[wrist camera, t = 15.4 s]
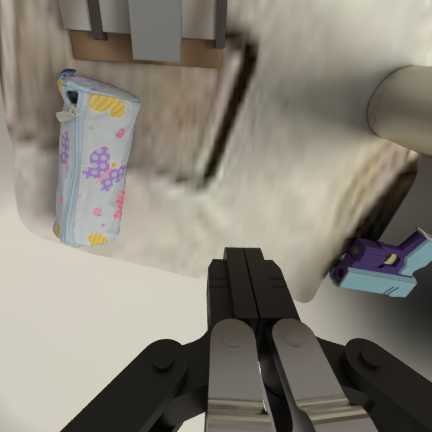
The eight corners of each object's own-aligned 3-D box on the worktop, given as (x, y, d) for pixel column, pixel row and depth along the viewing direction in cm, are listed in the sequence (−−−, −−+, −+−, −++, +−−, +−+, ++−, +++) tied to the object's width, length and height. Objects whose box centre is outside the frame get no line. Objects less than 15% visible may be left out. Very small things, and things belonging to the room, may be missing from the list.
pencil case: (76, 64, 32) (34, 66, 24) (148, 88, 34) (133, 98, 25) (69, 210, 42) (38, 247, 34) (125, 222, 43) (109, 260, 35)
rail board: (226, -29, 28) (229, -38, 26) (221, 67, 33) (223, 68, 30) (59, -45, 27) (45, -56, 24) (78, 58, 31) (67, 59, 29)
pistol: (438, 227, 49) (392, 286, 56) (365, 211, 46) (326, 275, 53) (457, 240, 45) (405, 301, 52) (380, 223, 42) (336, 291, 49)
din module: (182, -36, 27) (179, -60, 22) (183, 61, 31) (180, 62, 26) (137, -41, 27) (122, -66, 21) (144, 59, 31) (133, 59, 26)
